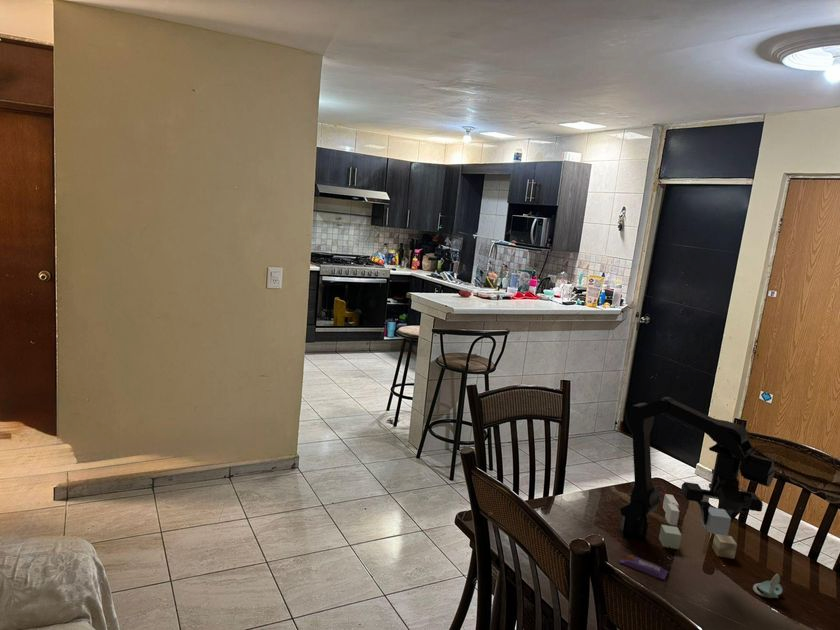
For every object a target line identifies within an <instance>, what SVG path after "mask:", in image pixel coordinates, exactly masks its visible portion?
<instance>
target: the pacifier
mask: <svg viewBox="0 0 840 630" xmlns="http://www.w3.org/2000/svg"><path fill="white" fill-rule="evenodd" d="M780 581H781V577H780V575H779V574H778V573H776V574H775V575H774V576H773V577H772V579H771V580H765V581H762V582H760V583H754V584H753V586H752V590H753V591H754V593H755V594H757V595H759V596H761V597H765V598H769V599H773V598H774V599H775V598H776V599H779V596H780V595H781V594H782V593H783V587H782V585H781V584H780ZM758 589H759V590H760V591H759V590H758Z"/></svg>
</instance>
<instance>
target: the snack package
mask: <svg viewBox="0 0 840 630" xmlns="http://www.w3.org/2000/svg"><path fill="white" fill-rule="evenodd" d="M619 563H620V564H622V565H624V566H627V567H629V568H632V569H634V570H637V571H640V572H642V573H644V574H647V575H650V576H652V577H654V578H657V579H659V580H664V581H665V580H666V578H667V575H668V573H669V570H666V569H664V568H663V567H662V566H660V565H658V564H656V563H653V562H651V561H648V560H647V559H646V560H645V559H644V558H640V557H639V556H635V555H632V554H623V556H622V557H621V559H620V560H619Z"/></svg>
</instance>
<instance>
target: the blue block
mask: <svg viewBox="0 0 840 630" xmlns="http://www.w3.org/2000/svg"><path fill="white" fill-rule="evenodd" d="M730 522H731V518H730V516H729V515H728V514H727V512H726V510H725V509H722V508H716V507H712V506H710V507H709V511H708V520H707V523H706V525H704V523H703V519H702V520H701V524H702V526H703V528H704V529H705V530H706V532H707V533H708V534H713V535H715V534H718V535H724V536H729V531H730V526H731V524H730Z"/></svg>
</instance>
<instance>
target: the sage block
mask: <svg viewBox="0 0 840 630" xmlns="http://www.w3.org/2000/svg"><path fill="white" fill-rule="evenodd" d="M659 529H660V530H659V536H658V540H659V542H660V544H661V546H662V547H664V548H669V547H670V548H669V549H674V550H675V549H676V550H679V549H680V545H681V542H682V541H681V540H682V533H681V531H680V530H679V528H678V527H677V526H674V525H668V524H667V525H666V524H661V525H660V528H659Z"/></svg>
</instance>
